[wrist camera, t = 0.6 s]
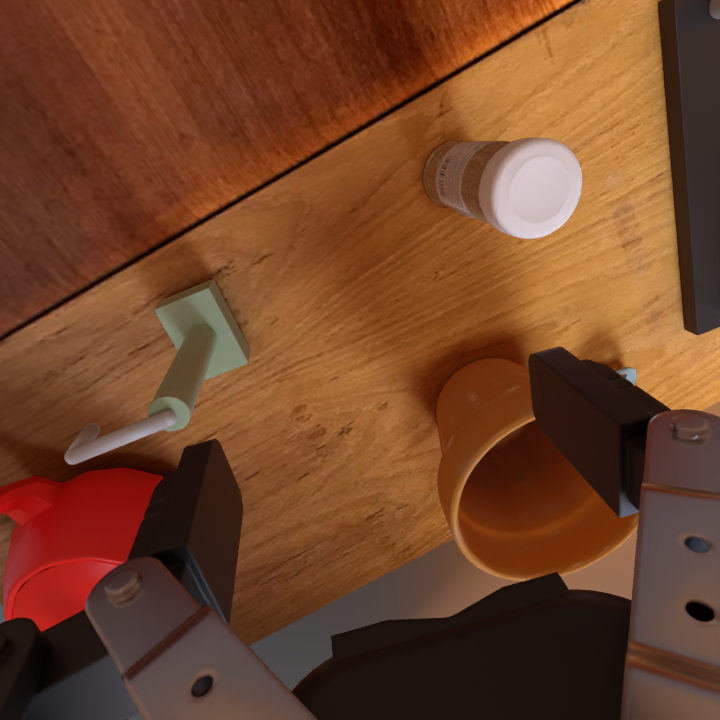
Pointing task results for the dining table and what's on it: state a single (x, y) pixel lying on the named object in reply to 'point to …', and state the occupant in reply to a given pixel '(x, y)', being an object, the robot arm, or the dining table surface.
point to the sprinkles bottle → (507, 183)
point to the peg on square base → (178, 367)
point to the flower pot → (515, 481)
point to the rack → (695, 150)
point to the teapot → (69, 538)
